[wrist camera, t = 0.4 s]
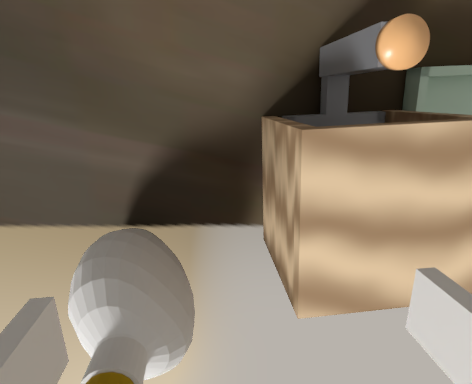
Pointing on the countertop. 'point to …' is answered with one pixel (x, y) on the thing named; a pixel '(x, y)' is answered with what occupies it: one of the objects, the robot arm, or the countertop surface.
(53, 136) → the countertop surface
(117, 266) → the soap bottle
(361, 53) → the ball-topped square frame
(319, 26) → the countertop surface
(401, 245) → the wooden open cubby
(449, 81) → the tray
